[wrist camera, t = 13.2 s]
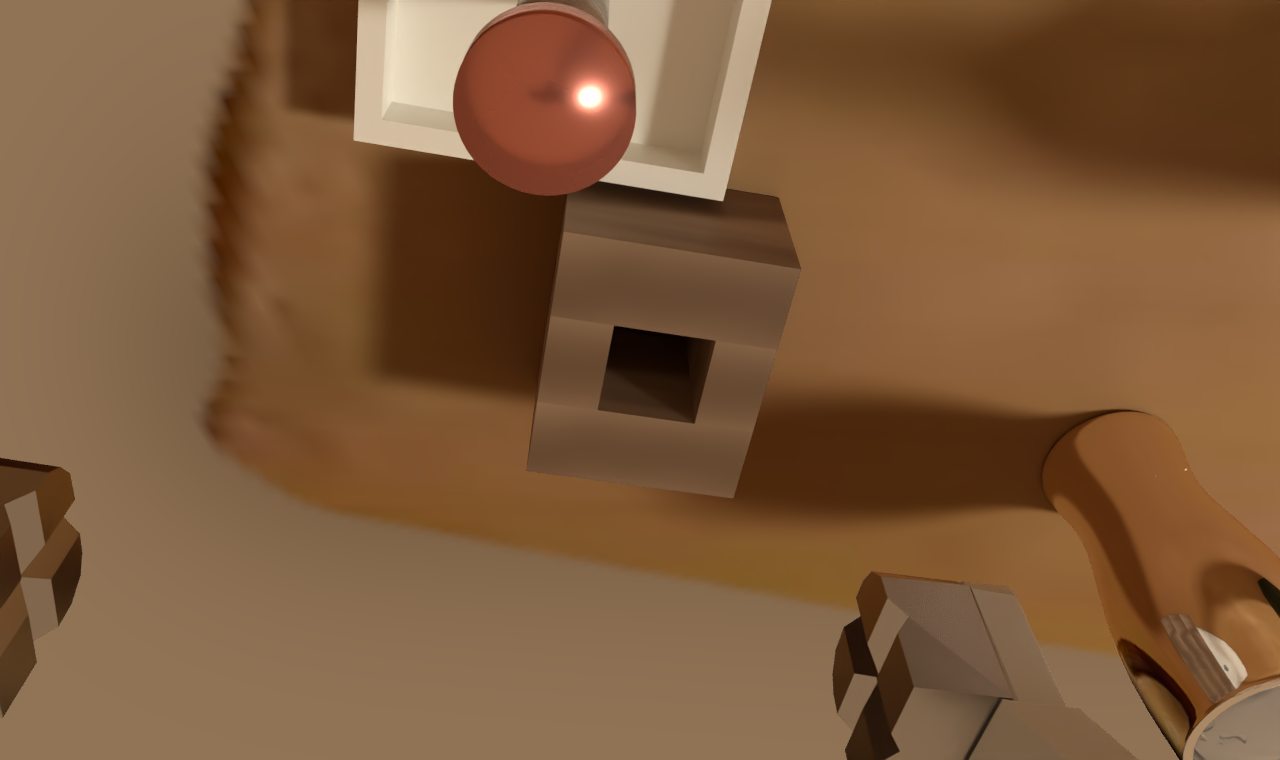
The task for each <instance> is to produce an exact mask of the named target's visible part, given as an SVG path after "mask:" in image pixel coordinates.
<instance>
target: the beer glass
mask: <svg viewBox="0 0 1280 760" xmlns="http://www.w3.org/2000/svg"><path fill="white" fill-rule="evenodd" d="M1042 484H1043V489H1044V492H1045V495H1046V497H1047V498H1048V500H1049V502H1050V503H1051V504H1052V506H1053V507H1054V508H1055V509H1056V510H1057V512H1058V513H1059V514H1060V515H1061V516H1062V517H1063V518H1064V519H1065V520H1066V521H1067V523H1068V524H1069V525H1070V526H1071V527H1072V528H1073V529H1074V531H1075V532H1076V533H1077V535H1078V536H1079V538H1080V540H1081V541H1082V543H1083V545H1084V548H1085V550H1086V552H1087V554H1088V558H1089V561H1090V564H1091V567H1092V570H1093V574H1094V578H1095V582H1096V585H1097V589H1098V593H1099V596H1100V600H1101V603H1102V607H1103V610H1104V614H1105V618H1106V621H1107V624H1108V627H1109V630H1110V633H1111V636H1112V638H1113V641H1114V644H1115V647H1116V650H1117V652H1118V655H1119V657H1120V659H1121V661H1122V663H1123V665H1124V667H1125V669H1126V671H1127V674H1128V676H1129V678H1130V680H1131V682H1132V684H1133V686H1134V687H1135V689H1136V691H1137V693H1138V694H1139V696H1140V698H1141V700H1142V702H1143V703H1144V705H1145V707H1146V709H1147V710H1148V712H1149V714H1150V715H1151V717H1152V719H1153V720H1154V722H1155V723H1156V725H1157V726H1158V728H1159V729H1160V731H1161V733H1162V734H1163V736H1164V737H1165V739H1166V740H1167V742H1168V744H1169V745H1170V747H1171V748H1172V750H1173V751H1174V753H1175V754H1176V756H1177V757H1178V759H1179V760H1280V558H1279V557H1278V556H1277V555H1276V554H1275V553H1274V552H1273V551H1272V550H1271V549H1270V548H1269V547H1268V546H1267V545H1266V544H1265V543H1264V542H1262V541H1261V540H1260V539H1259V538H1258V537H1257V536H1256V535H1254V534H1253V533H1252V532H1251V531H1250V530H1249V529H1248V528H1246V527H1245V526H1244V525H1243V524H1242V523H1241V522H1239V521H1238V520H1237V519H1236V518H1235V517H1234V516H1232V515H1231V514H1230V513H1229V512H1228V511H1227V510H1225V509H1224V508H1223V507H1222V506H1221V505H1220V504H1219V503H1218V502H1217V501H1216V500H1214V499H1213V498H1212V497H1211V496H1210V495H1209V494H1208V493H1207V491H1206V490H1205V489H1204V488H1203V487H1202V486H1201V484H1200V483H1199V482H1198V480H1197V479H1196V477H1195V475H1194V474H1193V472H1192V470H1191V468H1190V465H1189V463H1188V460H1187V458H1186V455H1185V452H1184V450H1183V448H1182V445H1181V443H1180V441H1179V439H1178V437H1177V436H1176V434H1175V433H1174V431H1173V430H1172V429H1171V428H1170V427H1169V426H1168V425H1167V424H1166V423H1164V422H1163V421H1162V420H1160V419H1158V418H1156V417H1154V416H1152V415H1149V414H1145V413H1140V412H1132V411H1123V412H1114V413H1108V414H1104V415H1101V416H1097V417H1095V418H1092V419H1090V420H1087V421H1085V422H1083V423H1081V424H1080V425H1078V426H1076V427H1075V428H1073V429H1072V430H1070V431H1069V432H1068V433H1066V434H1065V435H1064V436H1063V437H1062V438H1061V439H1060V440H1059V441H1058V442H1057V443H1056V444H1055V446H1054V447H1053V448H1052V450H1051V451H1050V453H1049V454H1048V456H1047V458H1046V461H1045V463H1044V466H1043V471H1042Z"/></svg>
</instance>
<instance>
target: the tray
mask: <svg viewBox="0 0 1280 760" xmlns="http://www.w3.org/2000/svg"><path fill="white" fill-rule="evenodd" d="M771 1H772V0H610V3H609V25H608V29H609V30H610V31H611V32H612V33H613V34H614V35H615V37H616V38H617V39H618V40H619V42H620V43H621V45H622V46H623V48H624V50H625V51H626V53H627V56H628V58H629V60H630V63H631V66H632V69H633V73H634V78H635V85H636V121H635V128H634V131H633V135H632V138H631V141H630V143H629V146H628V148H627V150H626V151H625V153H624V155H623V157H622V158H621V159H620V161H619V162H618V163H617V165H616V166H615V167H614V168H613V169H612V170H611V171H610V172H609V173H608V174H607V175H606V176H604V177H603V178H602V179H600V180H599V181H603V182H609V183H615V184H621V185H627V186H633V187H639V188H645V189H651V190H657V191H663V192H669V193H675V194H681V195H688V196H694V197H700V198H706V199H712V200H718V201H723V200H724V195H725V191H726V187H727V183H728V179H729V175H730V171H731V167H732V162H733V158H734V154H735V150H736V146H737V142H738V138H739V133H740V129H741V125H742V121H743V117H744V113H745V109H746V104H747V100H748V96H749V92H750V88H751V84H752V80H753V76H754V71H755V67H756V63H757V59H758V55H759V51H760V47H761V42H762V38H763V34H764V30H765V26H766V22H767V18H768V14H769V9H770V5H771ZM517 2H518V0H359V1H358V30H357V59H356V88H355V117H354V140H355V141H361V142H367V143H373V144H379V145H385V146H391V147H397V148H403V149H409V150H415V151H421V152H427V153H433V154H439V155H445V156H452V157H458V158H464V159H470V160H473V158H472V157H471V155H470V154H469V153H468V151H467V150H466V148H465V146H464V144H463V142H462V141H461V138H460V136H459V133H458V131H457V127H456V123H455V119H454V113H453V91H454V85H455V80H456V77H457V74H458V71H459V68H460V66H461V64H462V62H463V59H464V57H465V55H466V53H467V50H468V48H469V46H470V44H471V43H472V41H473V40H474V38H475V36H476V35H477V34H478V33H479V32H480V30H481V29H482V28H483V27H484V26H485V25H486V24H487V23H488V22H490V21H491V20H492V19H493V18H495V17H496V16H498V15H499V14H501V13H503V12H505V11H507V10H509V9H511V8H514V7H516V5H517Z"/></svg>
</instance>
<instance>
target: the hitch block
mask: <svg viewBox="0 0 1280 760" xmlns="http://www.w3.org/2000/svg"><path fill="white" fill-rule="evenodd" d="M800 272H801V267H800V264H799V261H798V257H797V254H796V251H795V248H794V245H793V242H792V238H791V235H790V232H789V229H788V226H787V223H786V219H785V216H784V213H783V210H782V207H781V203H780V200H779V198H778V197H772V196H766V195H760V194H754V193H748V192H742V191H736V190H730V189H726V191H725V195H724V200H723V201H718V200H712V199H706V198H700V197H694V196H688V195H681V194H675V193H669V192H663V191H657V190H651V189H645V188H639V187H633V186H627V185H621V184H615V183H609V182H603V181H597V182H596V183H594V184H592V185H590V186H589V187H586V188H584V189H581V190H579V191H576V192H572V193H568V194H566V200H565V206H564V213H563V219H562V226H561V232H560V239H559V245H558V252H557V258H556V265H555V271H554V278H553V284H552V291H551V297H550V304H549V310H548V317H547V323H546V330H545V336H544V343H543V349H542V356H541V362H540V369H539V375H538V382H537V389H536V397H535V406H534V414H533V422H532V430H531V438H530V446H529V454H528V462H527V470H526V471H531V472H538V473H546V474H553V475H561V476H568V477H576V478H583V479H591V480H598V481H606V482H613V483H621V484H628V485H636V486H643V487H651V488H658V489H666V490H673V491H681V492H688V493H696V494H703V495H711V496H718V497H726V498H734V494H735V491H736V488H737V484H738V481H739V478H740V474H741V471H742V467H743V464H744V461H745V457H746V454H747V451H748V447H749V444H750V440H751V437H752V434H753V430H754V427H755V424H756V420H757V417H758V414H759V410H760V407H761V403H762V400H763V397H764V393H765V390H766V387H767V383H768V380H769V376H770V373H771V370H772V366H773V363H774V360H775V356H776V353H777V349H778V346H779V343H780V339H781V336H782V333H783V329H784V326H785V323H786V319H787V316H788V312H789V309H790V306H791V302H792V299H793V296H794V292H795V289H796V285H797V282H798V279H799V275H800ZM614 326H621V327H628V328H634V329H641V330H648V331H654V332H661V333H668V334H674V335H681V336H687V338H686V340H684V339H677V338H671V337H664V336H657V335H651V334H644V333H637V332H631V331H624V330H617V329H613V328H614Z"/></svg>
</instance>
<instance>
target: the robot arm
mask: <svg viewBox="0 0 1280 760" xmlns="http://www.w3.org/2000/svg"><path fill="white" fill-rule="evenodd" d="M74 500H75V497H74V491H73V487H72V481H71V476H70V473H69V472H67V471H66V470H64V469H63V468H61V467H57V466H51V465H44V464H37V463H31V462H24V461H17V460H11V459H4V458H0V718H3V717H4V715H5V714H6V712H7V710H8V709H9V707H10V705H11V704H12V702H13V700H14V699H15V697H16V696H17V694H18V692H19V690H20V689H21V687H22V686H23V684H24V683H25V681H26V679H27V677H28V676H29V674H30V673H31V671H32V670H33V668H34V666H35V664H36V663H37V660H36V654H35V649H34V643H33V641H34V640H36V639H38V638H40V637H41V636H43V635H45V634H46V633H48V632H50V631H52V630H54V629H55V628H57V627H58V626H59V625H60V623H61V621H62V620H63V618H64V616H65V614H66V613H67V611H68V609H69V608H70V606H71V604H72V601H73V598H74V595H75V592H76V588H77V585H78V582H79V579H80V576H81V564H82V546H81V538H80V533H79V532H78V531H76V529H75V528H74V527H73V526H72V525H71V524H70V523H69V522H68V521H67V520H66V519H65V518H64V515H65V514H66V512H67V511H68V509H69V508H70V506H71V504H72V503H73V502H74ZM856 600H857V604H858V608H859V612H860V617H858V618H857V619H855V620H854V621H852V622H851V623H849V624H848V625H846V626H845V627H844V628H843V631H842V633H841V636H840V639H839V642H838V645H837V647H836V650H835V658H834V666H833V674H832V675H833V695H834V700H835V705H836V710H837V714H838V715H839V716H840V718H841V719H842V720H843V721H844V722H845V723H846V724H847V725H848V726H849V727H850V728H851V730H852V731H853V732H852V735H851V737H850V740H849V742H848V744H847V746H846V748H845V753H846V758H847V760H1138V759H1137V758H1136V757H1135V756H1134V755H1132V754H1131V753H1130V752H1129V751H1128V750H1126V749H1125V748H1124V747H1123V746H1122V745H1121V744H1120V743H1119V742H1117V741H1116V740H1115V739H1114V738H1113V737H1112V736H1110V735H1109V734H1108V733H1107V732H1106V731H1105V730H1104V729H1102V728H1101V727H1100V726H1099V725H1098V724H1097V723H1096V722H1094V721H1093V720H1092V719H1091V718H1090V717H1088V716H1087V715H1086V714H1085V713H1084V712H1083V711H1082V710H1081V709H1078V708H1069V707H1066V706H1065V703H1064V701H1063V699H1062V697H1061V694H1060V692H1059V690H1058V688H1057V686H1056V683H1055V681H1054V679H1053V677H1052V675H1051V672H1050V670H1049V668H1048V665H1047V663H1046V661H1045V659H1044V657H1043V654H1042V652H1041V650H1040V648H1039V645H1038V643H1037V641H1036V639H1035V636H1034V634H1033V632H1032V630H1031V627H1030V625H1029V623H1028V621H1027V619H1026V616H1025V614H1024V612H1023V610H1022V607H1021V605H1020V603H1019V601H1018V598H1017V596H1016V594H1015V593H1014V592H1013V591H1012V590H1011V589H1009V588H1008V587H1007V586H999V585H990V584H981V583H972V582H960V583H959V582H956V581H948V580H940V579H931V578H923V577H915V576H907V575H898V574H890V573H882V572H874V571H871V572H870V573H869V574H868V576H867V577H866V578H865V579H864V580H863V582H862V584H861V587H860V589H859V591H858V594H857V596H856Z"/></svg>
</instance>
